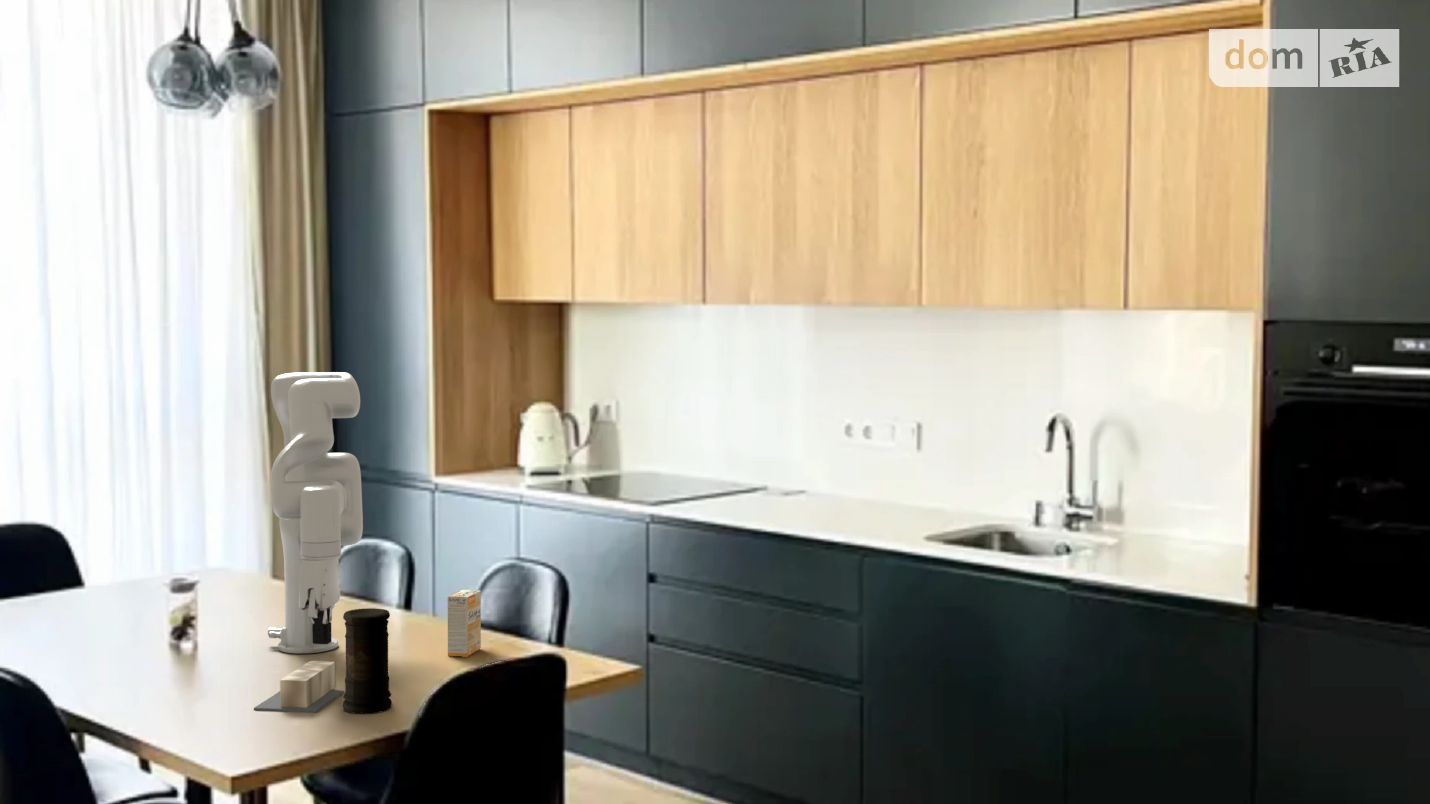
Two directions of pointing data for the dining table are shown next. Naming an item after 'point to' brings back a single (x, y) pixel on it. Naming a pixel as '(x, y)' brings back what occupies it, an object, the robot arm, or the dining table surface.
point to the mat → (275, 705)
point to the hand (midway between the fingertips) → (322, 642)
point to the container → (366, 661)
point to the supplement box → (464, 623)
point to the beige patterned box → (308, 684)
